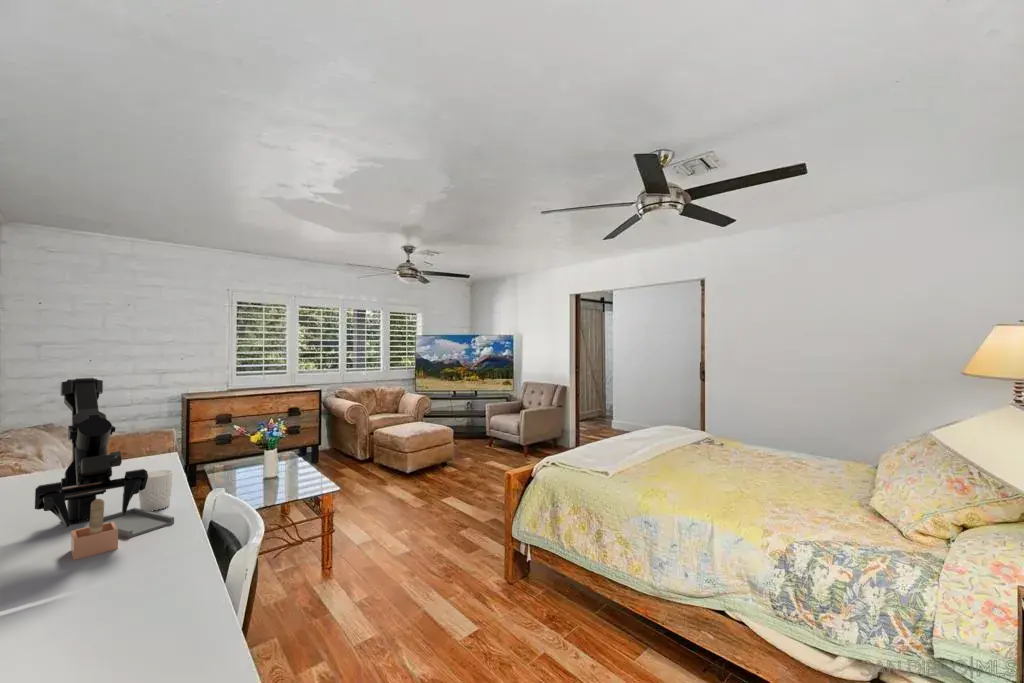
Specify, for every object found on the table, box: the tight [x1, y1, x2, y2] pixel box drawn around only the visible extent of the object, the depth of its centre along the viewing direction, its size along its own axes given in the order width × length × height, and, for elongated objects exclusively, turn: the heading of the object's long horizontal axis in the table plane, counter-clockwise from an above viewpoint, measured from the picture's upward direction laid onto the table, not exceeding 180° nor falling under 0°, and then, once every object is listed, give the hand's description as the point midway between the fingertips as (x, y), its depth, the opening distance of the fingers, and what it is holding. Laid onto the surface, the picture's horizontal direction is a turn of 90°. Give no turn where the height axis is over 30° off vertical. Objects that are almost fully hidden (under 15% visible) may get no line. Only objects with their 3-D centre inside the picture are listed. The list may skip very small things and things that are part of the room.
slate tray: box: [88, 507, 175, 539], centre depth 114 cm, size 18×10×2 cm, turn 67°
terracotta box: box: [70, 521, 119, 561], centre depth 100 cm, size 7×7×5 cm
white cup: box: [138, 469, 173, 512], centre depth 129 cm, size 8×8×10 cm
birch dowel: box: [88, 498, 105, 535], centre depth 99 cm, size 6×2×12 cm, turn 49°
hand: (97, 520), depth 98 cm, fingers open, 9 cm apart
